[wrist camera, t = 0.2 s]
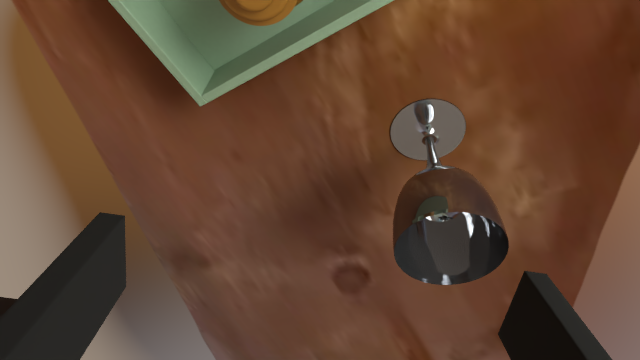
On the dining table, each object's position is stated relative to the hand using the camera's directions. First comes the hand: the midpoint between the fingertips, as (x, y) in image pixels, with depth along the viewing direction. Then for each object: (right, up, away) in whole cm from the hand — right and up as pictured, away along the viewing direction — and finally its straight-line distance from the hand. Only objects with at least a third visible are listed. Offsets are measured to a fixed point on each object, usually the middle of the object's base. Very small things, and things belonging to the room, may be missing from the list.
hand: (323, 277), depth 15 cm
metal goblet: (+10, +8, +28) cm, 31 cm away
